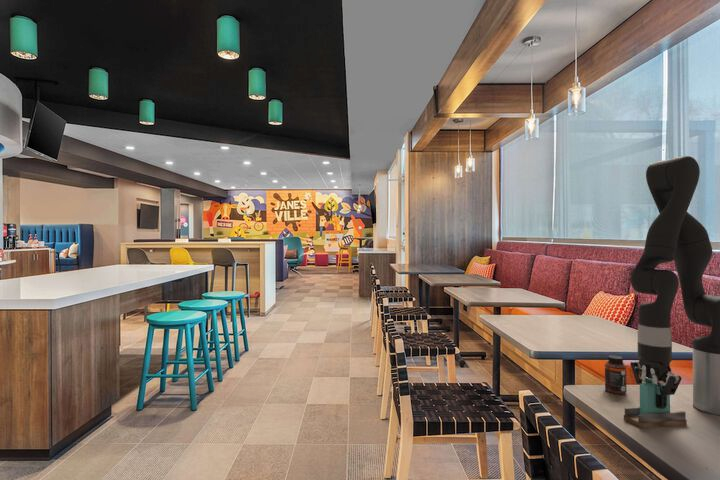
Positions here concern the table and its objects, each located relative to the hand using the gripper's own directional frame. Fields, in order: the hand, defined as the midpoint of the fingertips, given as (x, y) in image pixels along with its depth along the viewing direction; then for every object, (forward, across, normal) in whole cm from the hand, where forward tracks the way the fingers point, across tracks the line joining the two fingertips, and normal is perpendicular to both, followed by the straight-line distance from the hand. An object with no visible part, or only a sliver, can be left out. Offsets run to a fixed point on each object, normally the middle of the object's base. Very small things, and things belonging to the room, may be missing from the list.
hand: (654, 404), depth 108 cm
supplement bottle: (+5, +21, -7) cm, 23 cm away
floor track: (+5, 0, 0) cm, 5 cm away
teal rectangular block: (+3, 0, 0) cm, 3 cm away
